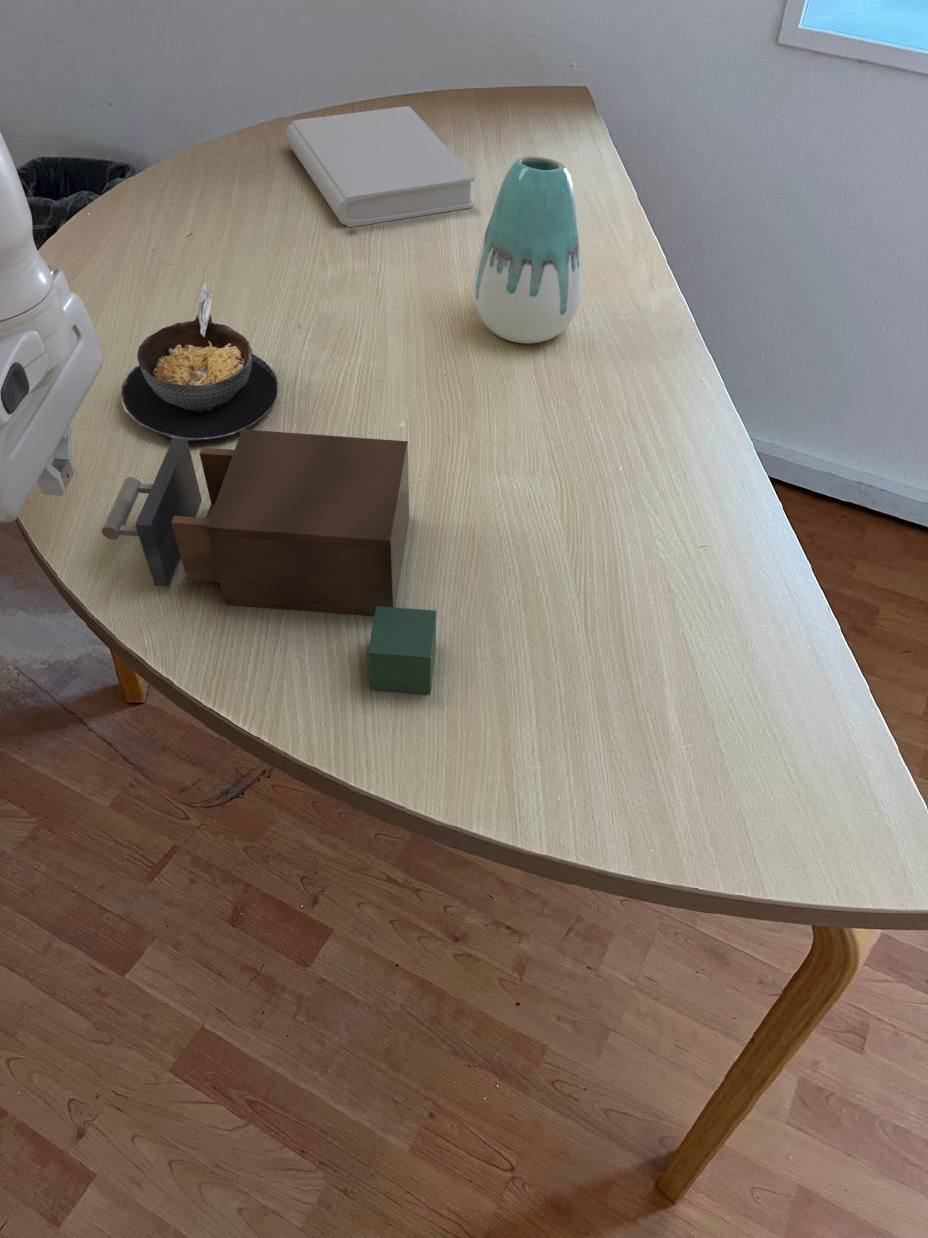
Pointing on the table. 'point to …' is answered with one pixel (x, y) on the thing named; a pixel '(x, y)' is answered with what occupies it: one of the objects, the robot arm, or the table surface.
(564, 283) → the vase
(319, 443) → the cabinet
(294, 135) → the book
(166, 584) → the drawer
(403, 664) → the block
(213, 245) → the table surface
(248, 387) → the soup bowl
